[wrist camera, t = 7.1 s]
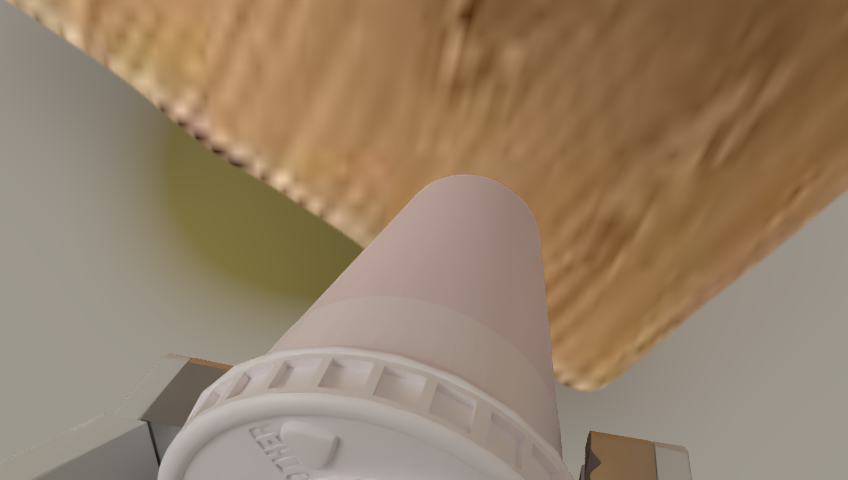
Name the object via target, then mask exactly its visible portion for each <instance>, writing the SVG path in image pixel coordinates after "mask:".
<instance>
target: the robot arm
mask: <svg viewBox="0 0 848 480" xmlns="http://www.w3.org/2000/svg"><path fill="white" fill-rule="evenodd" d="M232 367H234V366H230V365H226V364H221V363H216V362H211V361H207V360H202V359H197V358H190V357H185V356H180V355H175V354H168V355H166V356H163V357H162V358H161V359H160V360H159V361H158V362H157V363H156V364H155V366H154V367H153V368H152V369H151V370H150V372H148V374H147V375H146V376H145V377H144V378H143V379H142V380H141V382H140V383H139V384H138V385H137V386H136V387H135V389H134V390H133V391H132V392H131V393H130V394H129V395H128V396H127V398H126V399H125V400H124V401H123V402H122V403H121V404H120V406H119V407H118V408H117V409H116V410H115V411H114V413H113V414H112V415H111V414H105V413H104V414H102V415H99V416H98V417H95V418H93V419H91V420H89V421H87V422H85V423H82V424H80V425H78V426H76V427H74V428H72V429H70V430H68V431H65V432H63V433H61V434H59V435H57V436H55V437H53V438H50V439H48V440H46V441H44V442H42V443H40V444H38V445H35V446H33V447H31V448H29V449H27V450H25V451H23V452H21V453H19V454H16V455H14V456H12V457H10V458H8V459H6V460H4V461H1V462H0V480H157V477H158V471H159V468H160V465H161V461H162V458H163V456H164V454H165V452H166V450H167V448H168V447H169V445H170V444H171V442H172V441H173V440H174V438H175V437H176V436H177V434H178V433H179V431H180V430H181V429H182V428H183V426H184V425H185V423H186V421H187V419H188V417H189V415H190V413H191V412H192V410H193V408H194V406H195V404H196V402H197V400H198V399H199V397H200V395H201V393H202V392H203V391H204V390H205V389H207V388H208V387H209V386H210V385H211V384H213V383H214V382H215V381H216V380H218V379H219V378H220V377H221V376H223V375H224V374H225V373H226V372H227V371H229V370H230V369H231V368H232ZM579 480H692V476H691V469H690V462H689V455H688V451H687V450H686V448H685V447H682V446H677V445H671V444H665V443H659V442H651V441H647V440H642V439H636V438H630V437H624V436H618V435H612V434H606V433H600V432H595V431H590V432H589V435H588V438H587V443H586V447H585V464H584V465H582V467H581V472H580V478H579Z"/></svg>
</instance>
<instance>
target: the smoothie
mask: <svg viewBox="0 0 848 480" xmlns="http://www.w3.org/2000/svg"><path fill="white" fill-rule="evenodd" d="M157 480H574V479H573V477H572V475H571V473H570V472H569V470H568V468H567V467H566V465H565V464H564V462H563V458H562V446H561V434H560V424H559V418H558V411H557V402H556V392H555V382H554V372H553V362H552V352H551V342H550V332H549V322H548V312H547V302H546V293H545V283H544V273H543V263H542V253H541V243H540V234H539V228H538V225H537V222H536V219H535V217H534V215H533V213H532V211H531V210H530V208H529V207H528V205H527V204H526V203H525V201H524V200H523V199H522V198H521V197H520V196H519V195H518V194H517V193H515V192H514V191H513V190H511V189H510V188H508V187H507V186H505V185H504V184H502V183H500V182H498V181H495V180H492V179H490V178H486V177H482V176H477V175H453V176H448V177H444V178H441V179H438V180H436V181H434V182H432V183H430V184H428V185H427V186H425V187H424V188H423V189H421V190H420V191H419V192H418V193H417V194H416V195H415V196H414V197H413V198H412V199H411V200H410V202H409V203H408V204H407V205H406V206H405V207H404V208H403V209H402V210H401V211H400V212H399V213H398V214H397V215H396V216H395V218H394V219H393V220H392V221H391V222H390V223H389V224H388V225H387V226H386V227H385V228H384V229H383V230H382V231H381V233H380V234H379V235H378V236H377V237H376V238H375V239H374V240H373V241H372V242H371V243H370V244H369V245H368V246H367V247H366V249H365V250H364V251H363V252H362V253H361V254H360V255H359V256H358V257H357V258H356V259H355V260H354V262H352V264H351V265H350V266H349V267H348V268H347V269H346V270H345V271H344V272H343V273H342V274H341V275H340V276H339V277H338V279H337V280H336V281H335V282H334V283H333V284H332V285H331V286H330V287H329V288H328V289H327V290H326V291H325V292H324V294H323V295H322V296H321V297H320V298H319V299H318V300H317V301H316V302H315V303H314V304H313V305H312V306H311V307H310V309H309V310H308V311H307V312H306V313H305V314H304V315H303V316H302V317H301V318H300V319H299V320H298V321H297V322H296V323H295V324H294V325H293V326H292V327H291V328H290V329H289V330H288V331H287V332H286V333H285V334H284V335H283V336H282V338H281V339H280V340H279V341H278V342H277V343H276V344H275V345H274V346H273V347H272V349H271V350H270V351H269V352H268V353H267V354H266V355H263V356H260V357H258V358H255V359H252V360H249V361H247V362H244V363H241V364H238V365H235V366H234V367H232V368H231V369H230V370H229V371H227V372H226V373H225V374H224V375H223V376H221V377H220V378H219V379H218V380H216V381H215V382H214V383H213V384H211V385H210V386H209V387H208V388H207V389H205V390H204V391H203V392H202V393H201V395H200V397H199V399H198V400H197V402H196V404H195V406H194V408H193V410H192V412H191V413H190V415H189V417H188V419H187V421H186V423H185V425H184V426H183V428H182V429H181V430H180V431H179V433H178V434H177V436H176V437H175V438H174V440H173V441H172V442H171V444H170V445H169V447H168V448H167V450H166V452H165V454H164V456H163V458H162V461H161V465H160V468H159V471H158V477H157Z"/></svg>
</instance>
